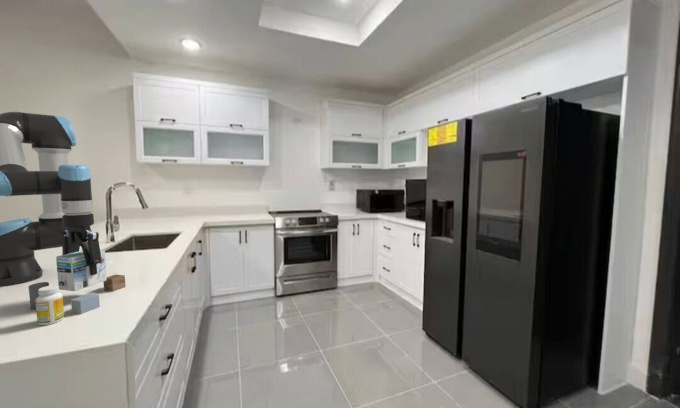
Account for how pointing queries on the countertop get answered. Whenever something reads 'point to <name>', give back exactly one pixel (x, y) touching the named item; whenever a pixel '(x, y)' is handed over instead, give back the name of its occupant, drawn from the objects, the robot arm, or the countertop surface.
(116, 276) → the walnut block
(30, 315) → the countertop surface
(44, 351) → the countertop surface
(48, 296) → the supplement bottle
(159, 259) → the countertop surface
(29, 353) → the countertop surface
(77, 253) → the light bulb box
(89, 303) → the slate-blue block
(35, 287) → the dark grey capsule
